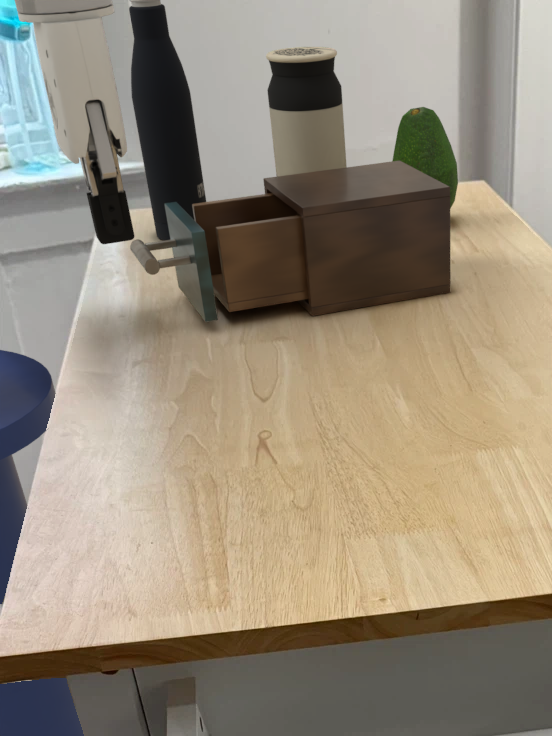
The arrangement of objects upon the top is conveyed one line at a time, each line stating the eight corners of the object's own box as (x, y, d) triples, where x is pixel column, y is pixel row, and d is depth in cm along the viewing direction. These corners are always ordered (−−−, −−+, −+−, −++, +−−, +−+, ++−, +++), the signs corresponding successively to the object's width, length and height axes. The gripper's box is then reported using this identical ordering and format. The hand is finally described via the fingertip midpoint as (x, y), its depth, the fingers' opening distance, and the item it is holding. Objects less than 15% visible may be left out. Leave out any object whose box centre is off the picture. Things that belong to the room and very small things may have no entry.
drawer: (160, 329, 93) (143, 239, 88) (136, 293, 101) (119, 209, 96) (341, 299, 98) (335, 212, 93) (305, 267, 106) (297, 185, 101)
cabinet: (312, 316, 97) (302, 207, 91) (274, 279, 106) (263, 178, 100) (450, 292, 101) (450, 186, 95) (403, 258, 110) (399, 160, 104)
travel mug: (307, 248, 114) (290, 59, 103) (269, 234, 119) (249, 52, 108) (364, 234, 118) (353, 50, 106) (325, 220, 123) (311, 43, 111)
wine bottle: (152, 230, 122) (94, -88, 102) (205, 223, 124) (158, -91, 104) (161, 244, 117) (102, -86, 98) (216, 237, 119) (168, -90, 99)
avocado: (389, 216, 123) (384, 102, 116) (452, 212, 124) (452, 98, 116) (396, 234, 117) (392, 115, 110) (463, 229, 118) (464, 111, 110)
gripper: (4, -9, 85) (63, 226, 97) (25, 7, 74) (88, 269, 86) (94, -17, 87) (140, 214, 99) (127, -2, 76) (174, 255, 88)
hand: (116, 239), depth 93 cm, fingers closed
